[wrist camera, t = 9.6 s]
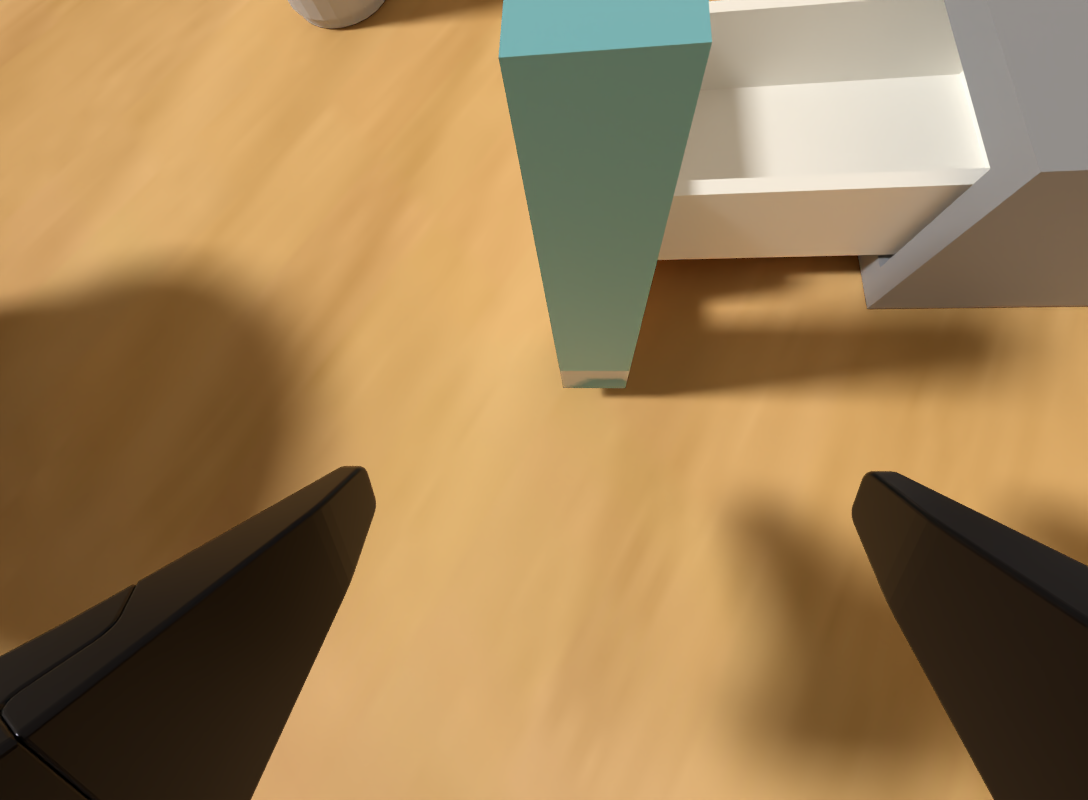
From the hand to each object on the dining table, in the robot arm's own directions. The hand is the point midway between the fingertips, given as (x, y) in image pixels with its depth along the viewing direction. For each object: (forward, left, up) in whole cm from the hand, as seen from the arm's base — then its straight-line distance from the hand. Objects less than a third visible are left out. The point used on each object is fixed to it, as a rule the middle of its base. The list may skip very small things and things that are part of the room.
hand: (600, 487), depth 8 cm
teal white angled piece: (+4, -14, -8) cm, 17 cm away
